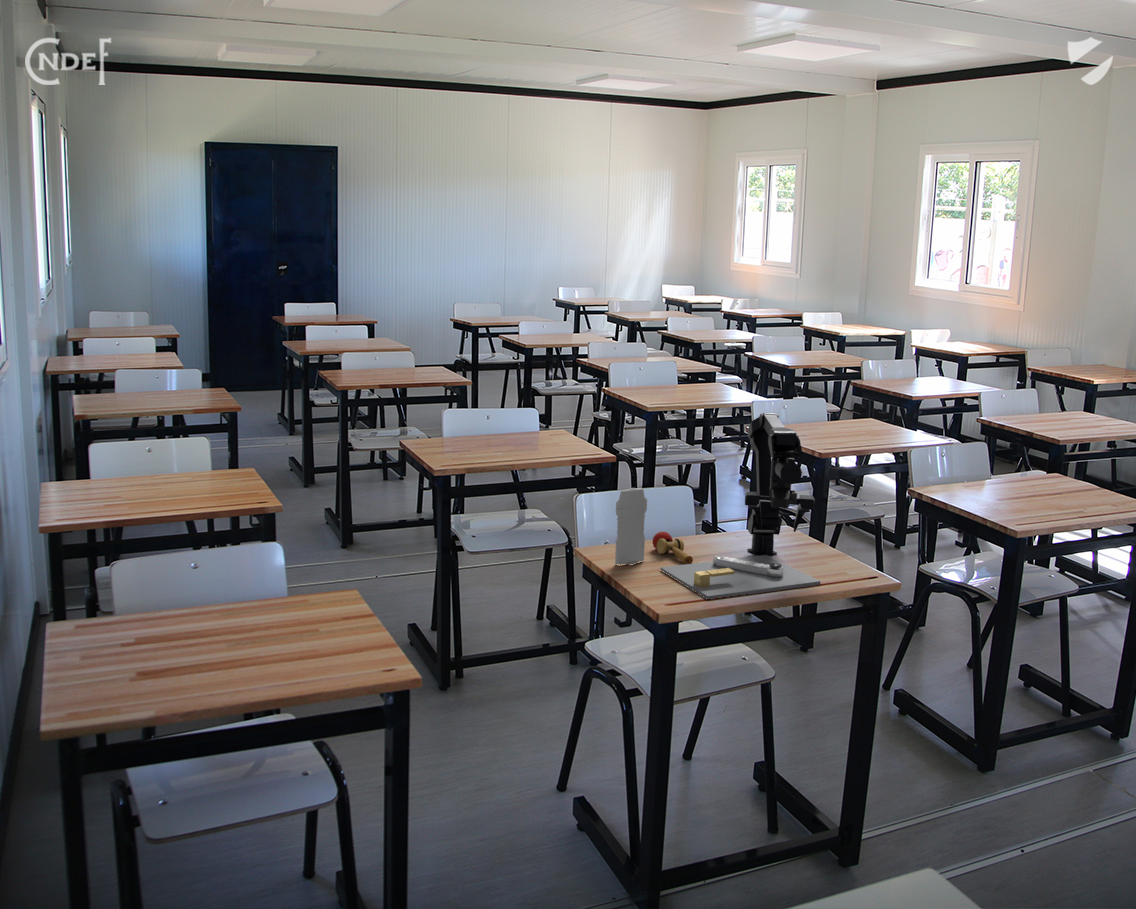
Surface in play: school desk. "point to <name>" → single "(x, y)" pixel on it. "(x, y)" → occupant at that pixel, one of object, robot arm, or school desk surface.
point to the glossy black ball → (775, 565)
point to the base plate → (740, 579)
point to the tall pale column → (630, 526)
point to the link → (748, 566)
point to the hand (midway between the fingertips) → (777, 530)
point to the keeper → (704, 577)
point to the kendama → (671, 546)
